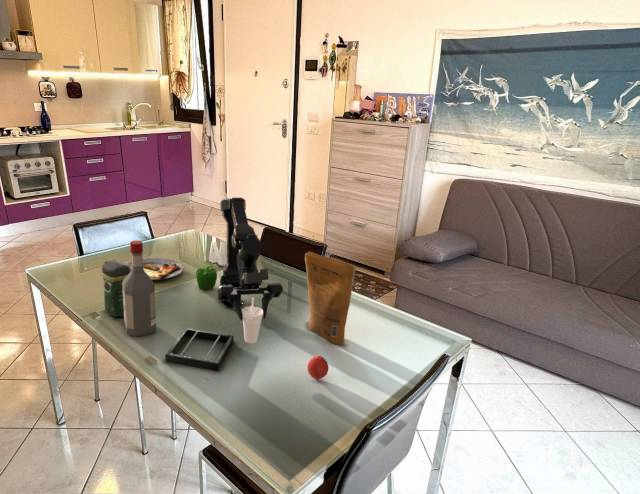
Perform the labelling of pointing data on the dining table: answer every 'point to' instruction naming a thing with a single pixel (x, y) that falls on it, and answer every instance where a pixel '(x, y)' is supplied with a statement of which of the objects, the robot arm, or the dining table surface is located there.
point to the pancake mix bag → (328, 295)
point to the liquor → (138, 296)
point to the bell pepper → (206, 277)
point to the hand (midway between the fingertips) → (253, 319)
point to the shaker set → (218, 254)
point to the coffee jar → (114, 286)
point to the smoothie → (251, 322)
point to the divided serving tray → (198, 362)
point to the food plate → (160, 268)
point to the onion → (317, 367)
